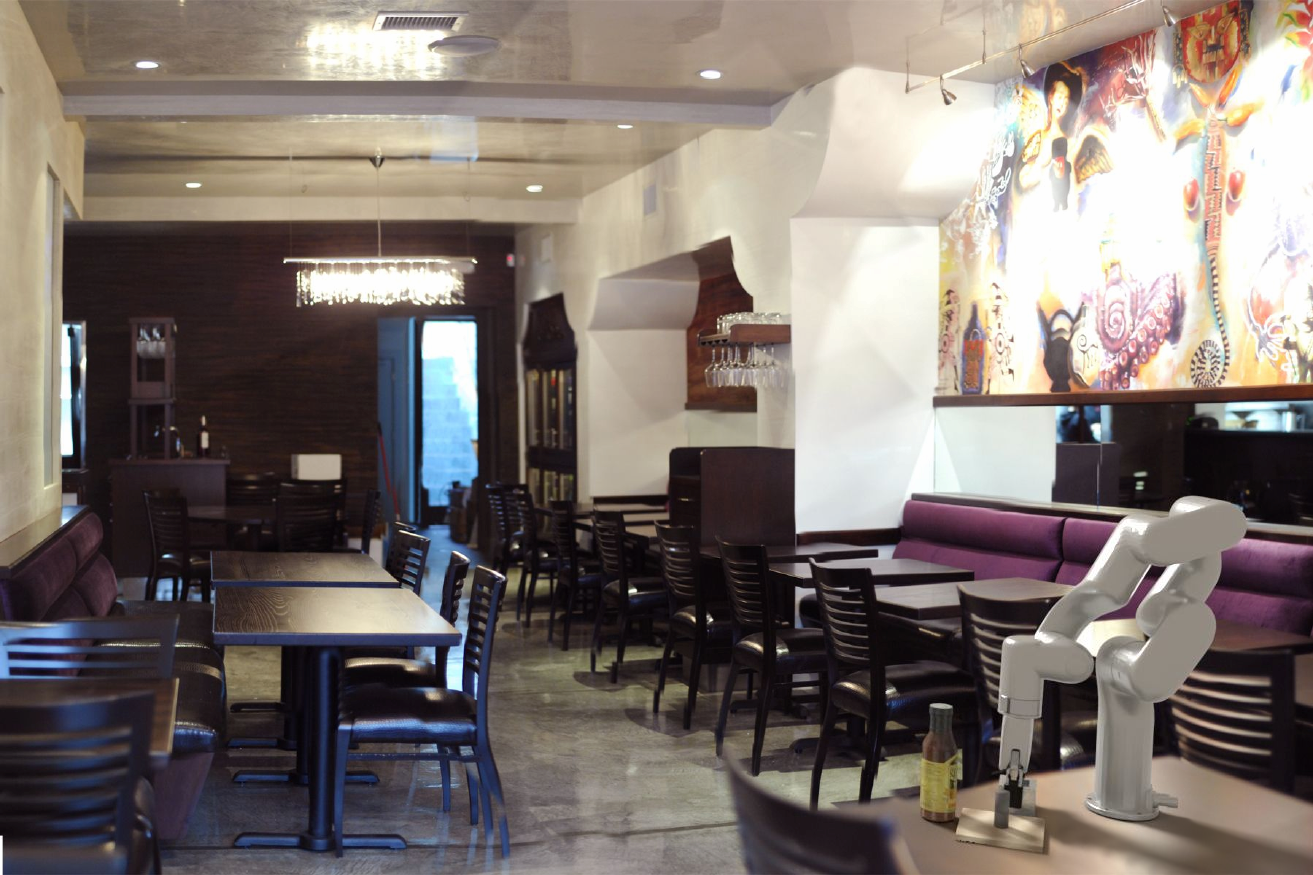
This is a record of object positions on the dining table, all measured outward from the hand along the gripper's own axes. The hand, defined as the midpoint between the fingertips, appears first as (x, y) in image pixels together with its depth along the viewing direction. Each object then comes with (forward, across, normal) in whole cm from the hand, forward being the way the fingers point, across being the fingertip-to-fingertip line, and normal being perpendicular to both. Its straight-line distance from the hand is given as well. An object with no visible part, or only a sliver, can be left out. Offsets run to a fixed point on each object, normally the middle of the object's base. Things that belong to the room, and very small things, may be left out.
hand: (1013, 798), depth 218 cm
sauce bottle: (+3, +10, -12) cm, 16 cm away
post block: (+2, +13, -1) cm, 13 cm away
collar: (+2, 0, +1) cm, 2 cm away
